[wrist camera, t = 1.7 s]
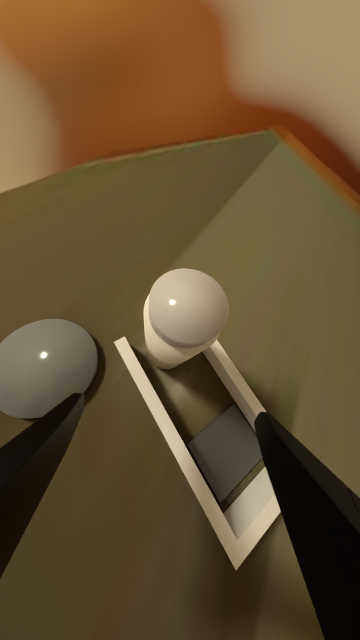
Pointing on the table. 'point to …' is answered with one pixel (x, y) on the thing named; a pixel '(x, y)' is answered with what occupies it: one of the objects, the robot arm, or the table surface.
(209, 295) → the salt mill
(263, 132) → the table surface
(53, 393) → the coaster
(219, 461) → the channel
